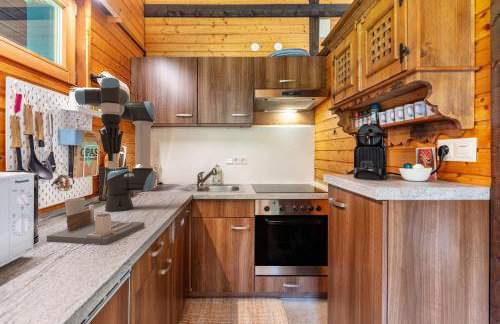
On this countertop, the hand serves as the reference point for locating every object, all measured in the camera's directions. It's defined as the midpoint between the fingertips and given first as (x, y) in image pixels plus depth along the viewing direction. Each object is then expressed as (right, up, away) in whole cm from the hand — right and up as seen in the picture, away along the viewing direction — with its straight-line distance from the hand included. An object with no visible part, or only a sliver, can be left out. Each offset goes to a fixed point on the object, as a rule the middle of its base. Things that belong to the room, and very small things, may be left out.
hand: (112, 168), depth 122 cm
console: (-2, -27, -7) cm, 28 cm away
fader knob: (+3, -25, -14) cm, 29 cm away
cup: (-21, -27, +7) cm, 35 cm away
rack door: (-13, -25, -4) cm, 28 cm away
